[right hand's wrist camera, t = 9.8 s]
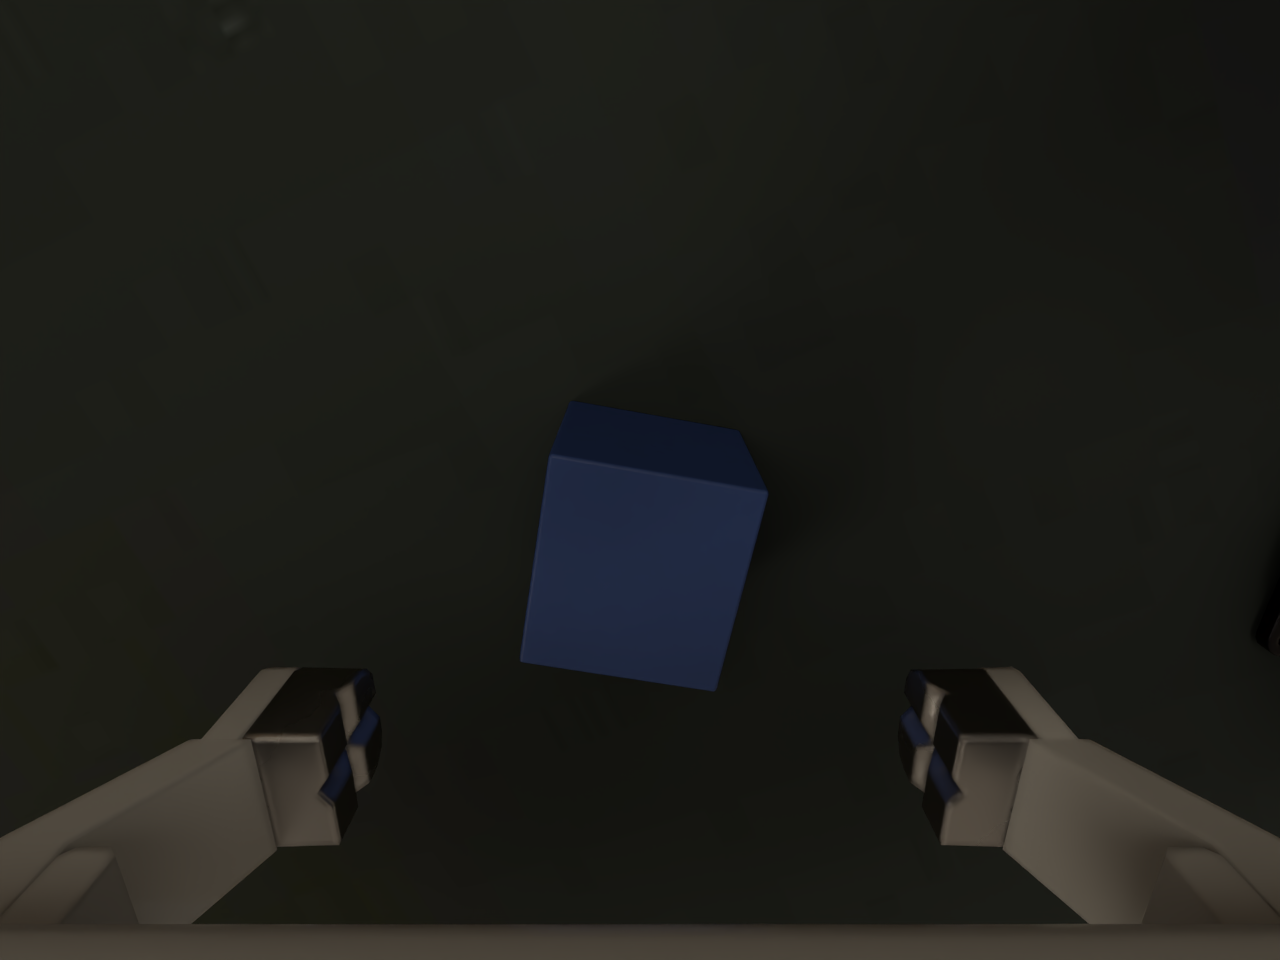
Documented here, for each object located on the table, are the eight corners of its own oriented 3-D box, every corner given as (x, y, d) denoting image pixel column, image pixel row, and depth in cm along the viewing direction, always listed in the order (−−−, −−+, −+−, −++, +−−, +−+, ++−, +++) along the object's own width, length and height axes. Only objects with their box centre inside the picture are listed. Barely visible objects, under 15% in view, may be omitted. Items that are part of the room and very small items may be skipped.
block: (700, 594, 18) (716, 693, 14) (544, 568, 18) (518, 663, 14) (739, 430, 17) (770, 491, 13) (570, 399, 16) (548, 453, 12)
